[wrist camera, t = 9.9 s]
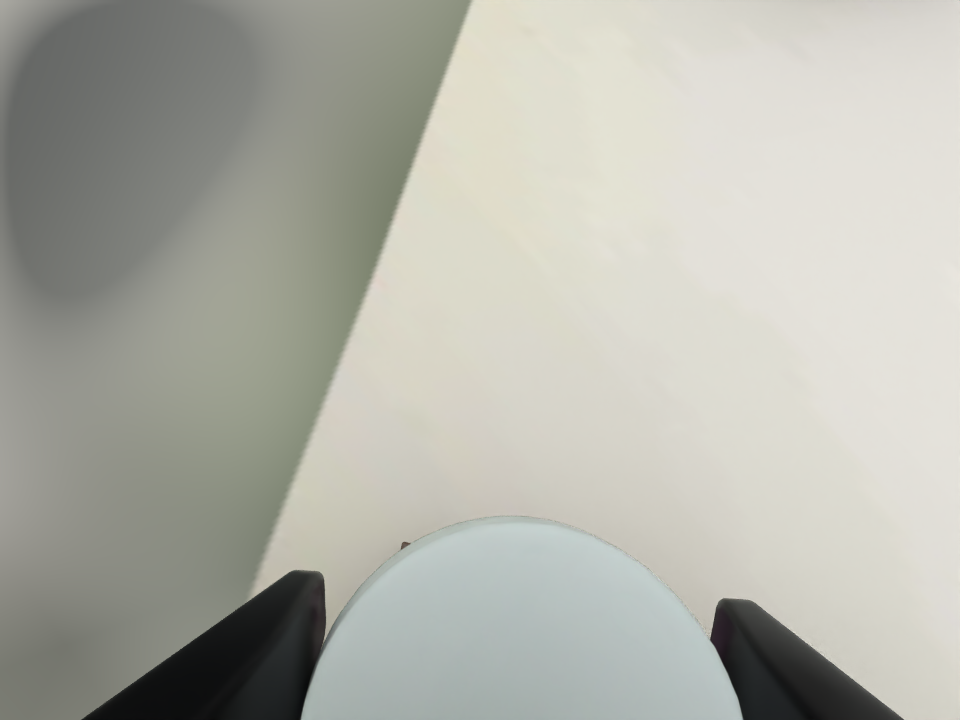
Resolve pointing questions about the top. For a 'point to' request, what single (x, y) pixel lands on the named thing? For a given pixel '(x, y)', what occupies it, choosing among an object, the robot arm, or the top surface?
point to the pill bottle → (517, 635)
